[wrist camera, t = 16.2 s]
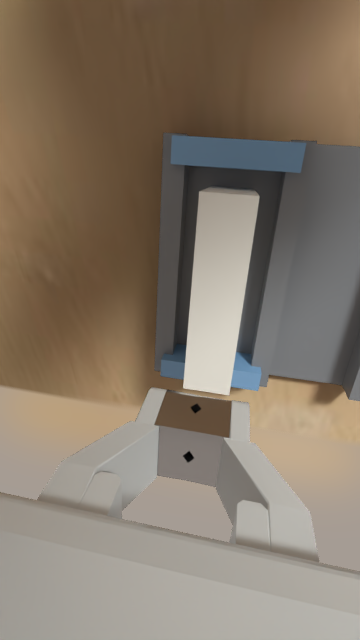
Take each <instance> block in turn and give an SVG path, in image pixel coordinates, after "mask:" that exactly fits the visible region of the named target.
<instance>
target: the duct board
mask: <svg viewBox="0 0 360 640" xmlns="http://www.w3.org/2000/svg"><path fill="white" fill-rule="evenodd" d="M211 186H218V187H231V188H244V189H254V190H255V191H256V192H257V193H258V195H259V196H260V198H259V204H258V211H257V217H256V224H255V230H254V237H253V243H252V250H251V256H250V263H249V270H248V276H247V283H246V289H245V296H244V302H243V309H242V315H241V322H240V328H239V335H238V341H237V348H236V354H235V361H234V368H233V374H232V381H231V387H235V388H242V389H249V390H255V391H258V389H259V386H262V387H267V382H268V377H269V375H275V376H282V377H289V378H296V379H303V380H310V381H317V382H324V383H330V384H337V385H342V386H343V388H344V390H345V392H346V395H347V397H348V399H349V400H356V401H360V147H356V146H339V145H321V144H317V141H304V140H291V141H289V142H282V141H264V140H247V139H229V138H212V137H194V136H189V135H187V134H179V133H163V159H162V186H161V212H160V239H159V265H158V292H157V318H156V344H155V371H161V376H163V377H169V378H176V379H182V380H184V371H185V359H186V347H187V334H188V322H189V310H190V298H191V286H192V274H193V262H194V249H195V237H196V225H197V213H198V201H199V191H202V190H204V189H206V188H209V187H211Z"/></svg>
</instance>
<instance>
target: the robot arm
mask: <svg viewBox="0 0 360 640" xmlns="http://www.w3.org/2000/svg"><path fill="white" fill-rule="evenodd" d="M157 475H158V476H163V477H169V478H175V479H181V480H186V479H187V480H186V481H191V482H196V483H200V484H204V485H208V486H213V487H216V490H217V492H218V495H219V496H220V499H221V501H222V503H223V505H224V508H225V509H226V512H227V514H228V516H229V518H230V520H231V523H232V525H233V528H232V533H231V538H230V543H228V542H224V541H219V540H215V539H210V538H206V537H201V536H197V535H192V534H188V533H183V532H178V531H174V530H169V529H165V528H160V527H156V526H151V525H147V524H142V523H137V522H133V521H128V520H124V519H122V510H123V509H124V508H126V507H127V505H128V504H130V503H131V502H132V501H133V500H134V499H135V498H136V497H137V496H138V495H139V494H140V493H141V492H142V491H143V490H144V489H145V488H146V487H147V486H148V485H149V484H150V483H151V482H152V481H153V480H154V479H156V478H157ZM0 640H360V571H355V570H351V569H346V568H342V567H337V566H332V565H328V564H324V563H319V557H318V552H317V546H316V541H315V536H314V531H313V525H312V519H311V515H310V512H309V510H308V509H307V508H306V506H305V505H304V504H303V503H302V501H301V500H300V499H299V498H298V496H297V495H296V494H295V493H294V491H293V490H292V489H291V488H290V486H289V485H288V484H287V483H286V481H285V480H284V479H283V478H282V476H281V475H280V474H279V473H278V471H277V470H276V469H275V468H274V466H273V465H272V464H271V462H270V461H269V460H268V459H267V458H266V456H265V455H264V454H263V452H262V451H261V450H260V449H259V447H258V446H257V445H256V444H255V443H251V442H250V412H249V403H248V402H241V401H233V400H232V401H229V400H223V399H217V398H210V397H204V396H199V395H194V394H188V393H183V392H177V391H172V390H166V389H160V388H154V387H151V388H150V389H149V391H148V393H147V395H146V398H145V400H144V402H143V404H142V407H141V409H140V411H139V413H138V416H137V418H136V420H135V422H134V421H129V422H127V423H126V424H124V425H123V426H121V427H119V428H117V429H116V430H114V431H112V432H111V433H109V434H107V435H106V436H104V437H102V438H100V439H99V440H97V441H95V442H94V443H92V444H90V445H88V446H87V447H85V448H84V449H82V450H80V451H78V452H77V453H75V454H73V455H72V456H70V457H68V458H67V459H65V460H63V461H61V463H60V464H59V466H58V468H57V469H56V471H55V472H54V474H53V476H52V477H51V479H50V480H49V482H48V483H47V485H46V486H45V488H44V490H43V491H42V493H41V494H40V496H39V497H38V499H37V500H33V499H29V498H24V497H20V496H15V495H11V494H6V493H1V492H0Z"/></svg>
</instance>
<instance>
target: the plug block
mask: <svg viewBox="0 0 360 640" xmlns="http://www.w3.org/2000/svg"><path fill="white" fill-rule="evenodd" d="M259 198H260V196H259V195H258V193H257V192H256V191H255V190H254V189H244V188H231V187H218V186H211V187H209V188H206V189H204V190H202V191H199V201H198V213H197V225H196V237H195V249H194V262H193V274H192V286H191V298H190V310H189V322H188V334H187V347H186V359H185V371H184V383H183V388H185V389H191V390H198V391H204V392H211V393H217V394H224V395H229V394H230V387H231V381H232V374H233V368H234V361H235V354H236V348H237V341H238V335H239V328H240V322H241V315H242V309H243V302H244V296H245V289H246V283H247V276H248V270H249V263H250V256H251V250H252V243H253V237H254V230H255V224H256V217H257V211H258V204H259Z"/></svg>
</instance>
